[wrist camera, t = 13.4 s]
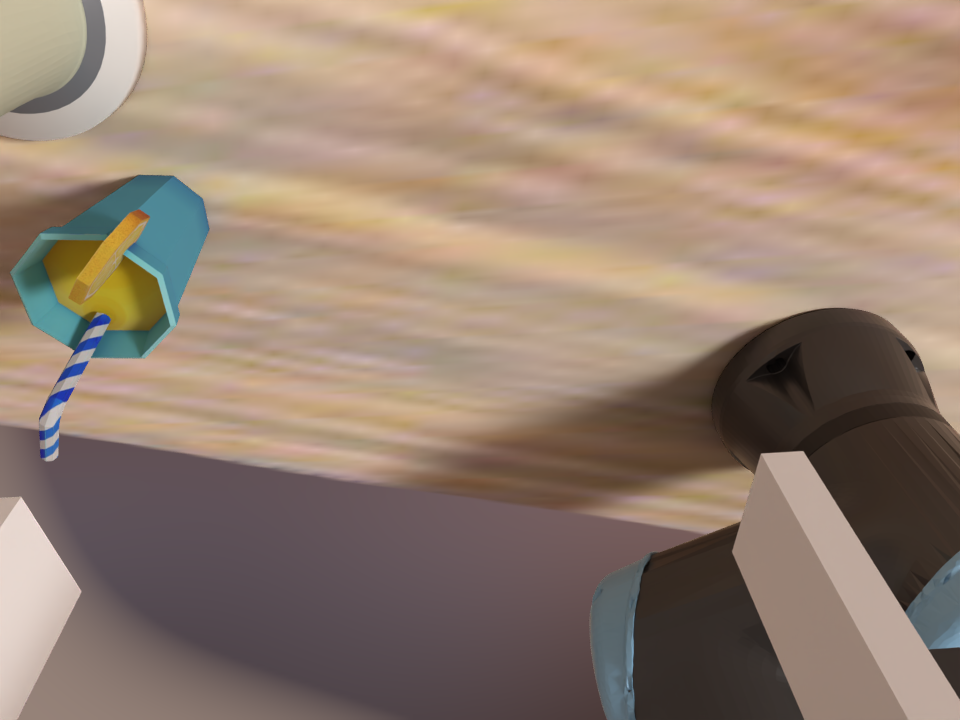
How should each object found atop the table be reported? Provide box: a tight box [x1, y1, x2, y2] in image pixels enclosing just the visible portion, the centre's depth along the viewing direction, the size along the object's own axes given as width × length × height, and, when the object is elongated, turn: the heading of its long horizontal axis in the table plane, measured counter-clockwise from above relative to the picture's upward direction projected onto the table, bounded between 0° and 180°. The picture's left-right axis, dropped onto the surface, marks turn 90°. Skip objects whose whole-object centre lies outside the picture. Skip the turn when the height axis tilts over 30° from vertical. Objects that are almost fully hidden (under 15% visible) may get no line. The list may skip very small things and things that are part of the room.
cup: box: [10, 175, 209, 461], centre depth 36 cm, size 14×8×15 cm, turn 155°
